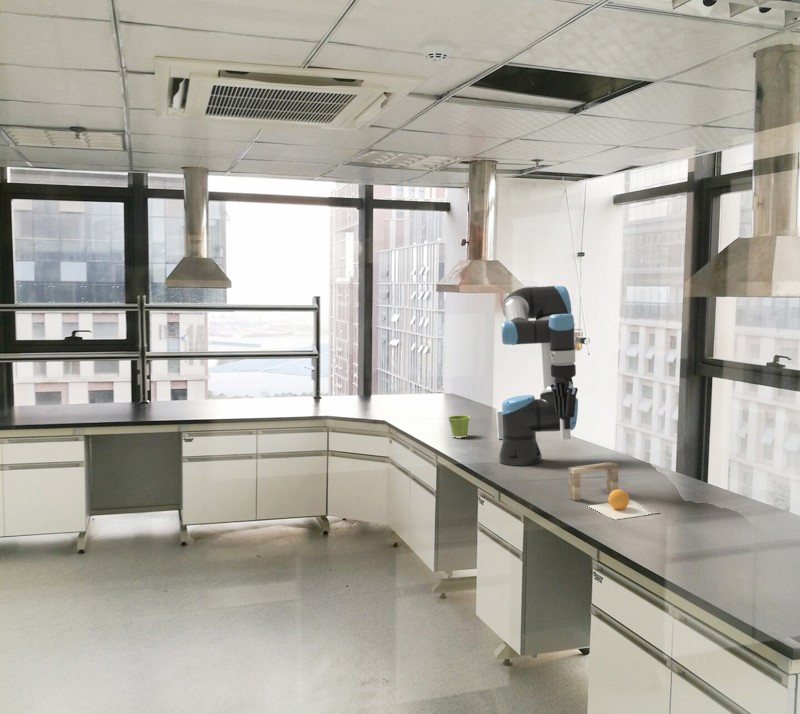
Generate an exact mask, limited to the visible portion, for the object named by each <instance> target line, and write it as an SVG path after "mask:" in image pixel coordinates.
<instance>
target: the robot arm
mask: <svg viewBox="0 0 800 714" xmlns="http://www.w3.org/2000/svg"><path fill="white" fill-rule="evenodd" d="M501 310H502V314H503V316H504V317H505V320H506V321H503V322H501V341H502V344H503V345H507V346H508V345H511V346H515V345H532V344H540V345H541V359H542V360H541V361H542V362H541V363H542V377H543V390H542V391H541V393H540V394H539V397H540V398H538V399H537V398H535V396H534V395H533V394H525V395H524V394H523V395H517V396H512V397H509V398H506V399H504V401H502V403H501V410H502V416H503V440H502V444H501V447H500V451H499V455H498V459H499V460H498V462H499V461H500V462H501V464H503V463H504V464H503V465H507V464H508V466H531V465H536V464H539V463H541V462H542V459H543V456H542V453H541V450H540V447H539V444H538V442H537V436H536V435H537V434H536V433H542V432H559V433H560V434H559V435H560V440H562V441H565V440H571V439H572V438H571V437H572V436H571V435H572V433H571V431H574V430H575V429H576V426H577V421H578V412H579V411H578V410H579V399H578V398H577V394H578V387H574V382H573V378H574V377H576V375H577V374H576V373H577V371H576V370H577V368H576V364H575V363H576V347H575V326H576V325H575V319H574V315H573V313H572V303H571V298H570V294H569V291H568V289H567V288H566V287H565V286H563V285H549V286H534V287H533V286H532V287H531V286H530V287H529V286H528V287H527V286H526V287H520V288H518V289H516V290H514V291H512V292H510V293H509V294H508V295H507V296H506V297H505V299H504V300H503V301H502V308H501ZM530 319H534V320H530ZM500 462H499V463H500Z"/></svg>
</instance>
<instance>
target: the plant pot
mask: <svg viewBox="0 0 800 714" xmlns="http://www.w3.org/2000/svg"><path fill="white" fill-rule="evenodd" d="M447 419H448V421H449V424H450V428H451V434H452V436H453V435H454V436H465V435H467V436H468V432H469V430H468V429H469V422H470V419H471V416H470V415H466V414H465V415H464V414H462V415H461V414H460V415H452V416H449V417H447Z"/></svg>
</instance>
